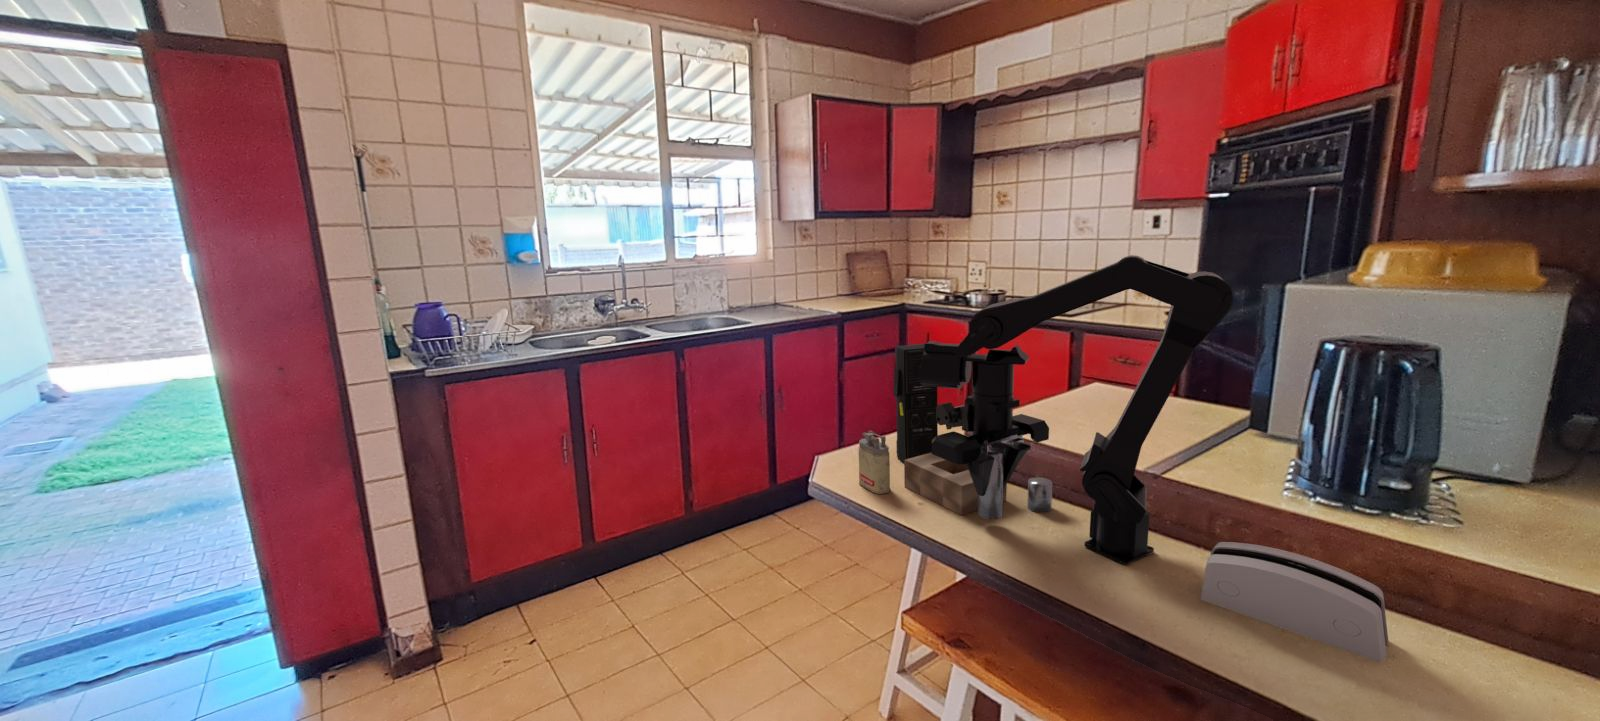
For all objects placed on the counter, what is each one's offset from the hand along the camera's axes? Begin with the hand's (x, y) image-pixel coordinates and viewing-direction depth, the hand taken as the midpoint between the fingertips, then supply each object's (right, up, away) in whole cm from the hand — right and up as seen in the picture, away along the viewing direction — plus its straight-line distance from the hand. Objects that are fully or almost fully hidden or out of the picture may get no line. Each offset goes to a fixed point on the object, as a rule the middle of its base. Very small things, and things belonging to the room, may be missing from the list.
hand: (990, 492), depth 96 cm
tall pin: (0, -3, +1) cm, 4 cm away
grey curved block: (+26, -10, -24) cm, 37 cm away
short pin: (+10, -4, +6) cm, 12 cm away
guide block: (-2, -3, +13) cm, 14 cm away
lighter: (-15, -3, +17) cm, 23 cm away
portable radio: (-6, 0, +29) cm, 30 cm away
